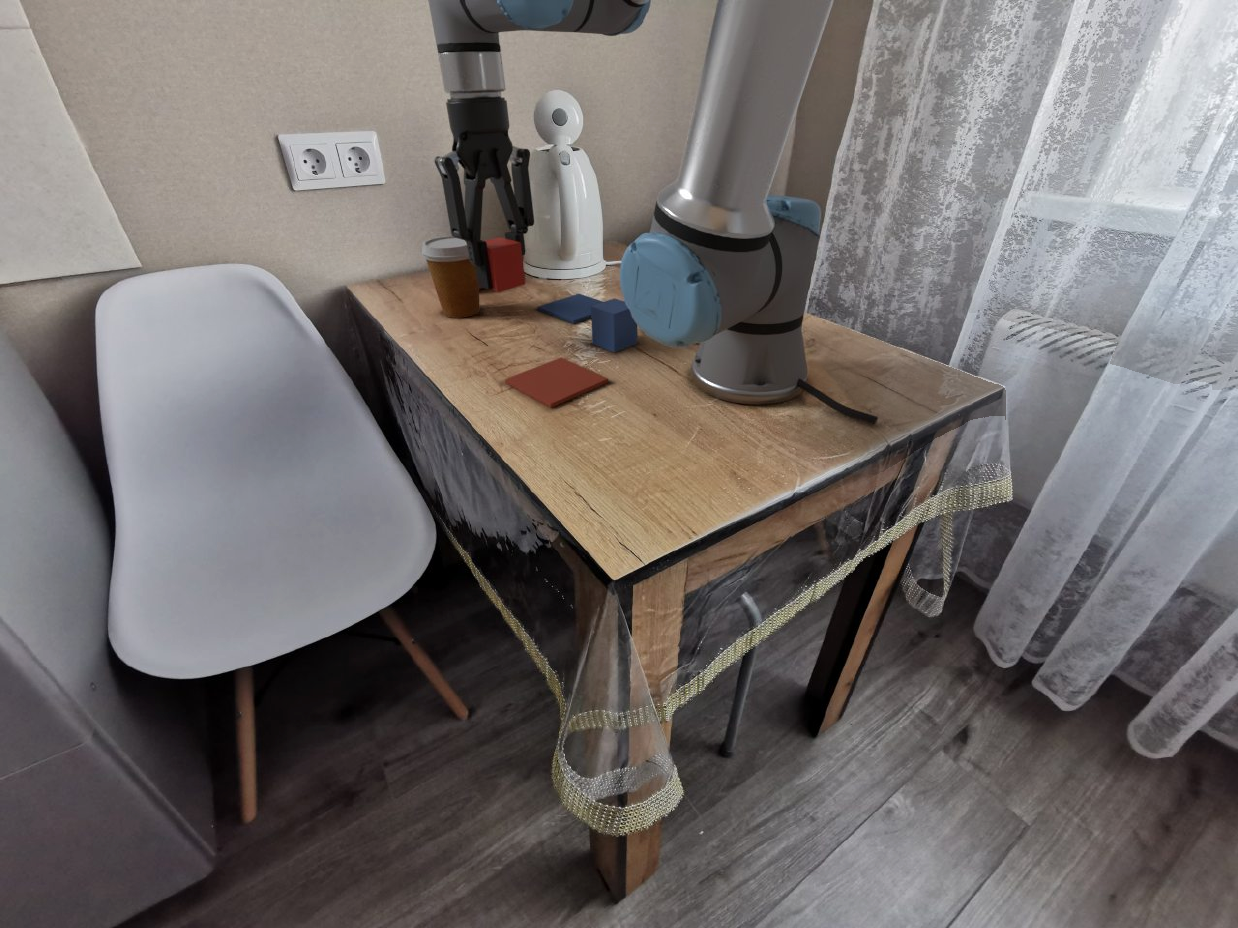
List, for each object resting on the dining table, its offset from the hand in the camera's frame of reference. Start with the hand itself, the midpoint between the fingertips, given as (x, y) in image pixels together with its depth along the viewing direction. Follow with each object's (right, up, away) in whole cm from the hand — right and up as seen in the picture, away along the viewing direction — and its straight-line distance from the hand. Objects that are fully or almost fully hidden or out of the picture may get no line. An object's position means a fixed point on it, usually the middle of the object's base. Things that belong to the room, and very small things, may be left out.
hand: (502, 282), depth 83 cm
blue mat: (+10, +1, +17) cm, 20 cm away
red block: (0, 0, 0) cm, 0 cm away
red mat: (+9, -16, -7) cm, 19 cm away
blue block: (+17, -8, +4) cm, 19 cm away
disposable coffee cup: (-11, 0, +17) cm, 20 cm away
